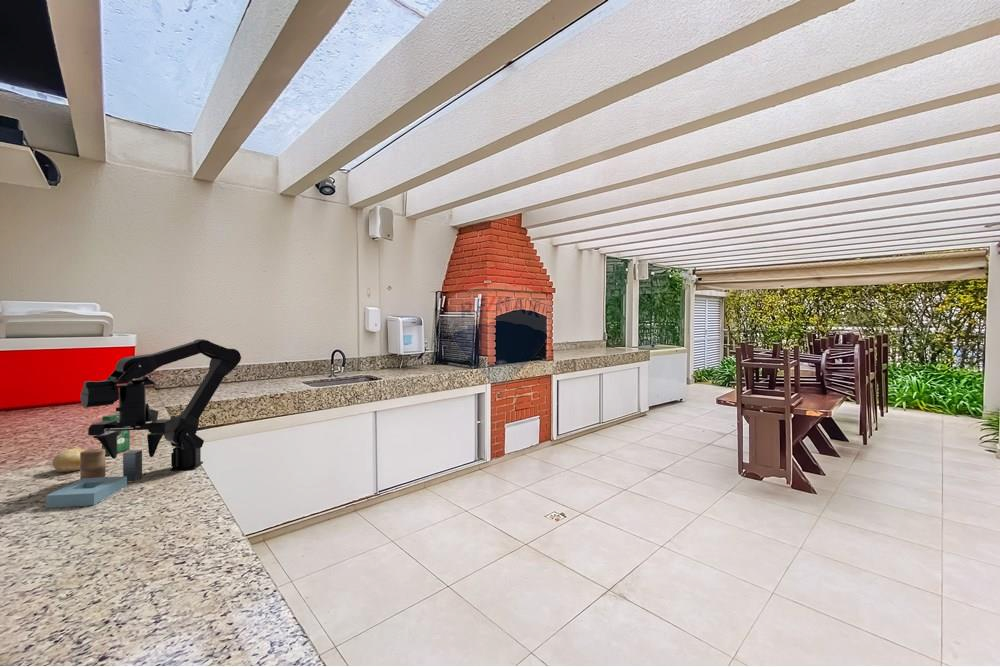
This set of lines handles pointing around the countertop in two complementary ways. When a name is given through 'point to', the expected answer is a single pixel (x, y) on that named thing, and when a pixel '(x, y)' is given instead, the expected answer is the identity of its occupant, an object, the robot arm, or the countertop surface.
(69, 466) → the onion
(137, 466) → the square peg
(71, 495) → the socket board
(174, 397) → the countertop surface
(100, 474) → the round peg
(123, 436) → the coffee box
